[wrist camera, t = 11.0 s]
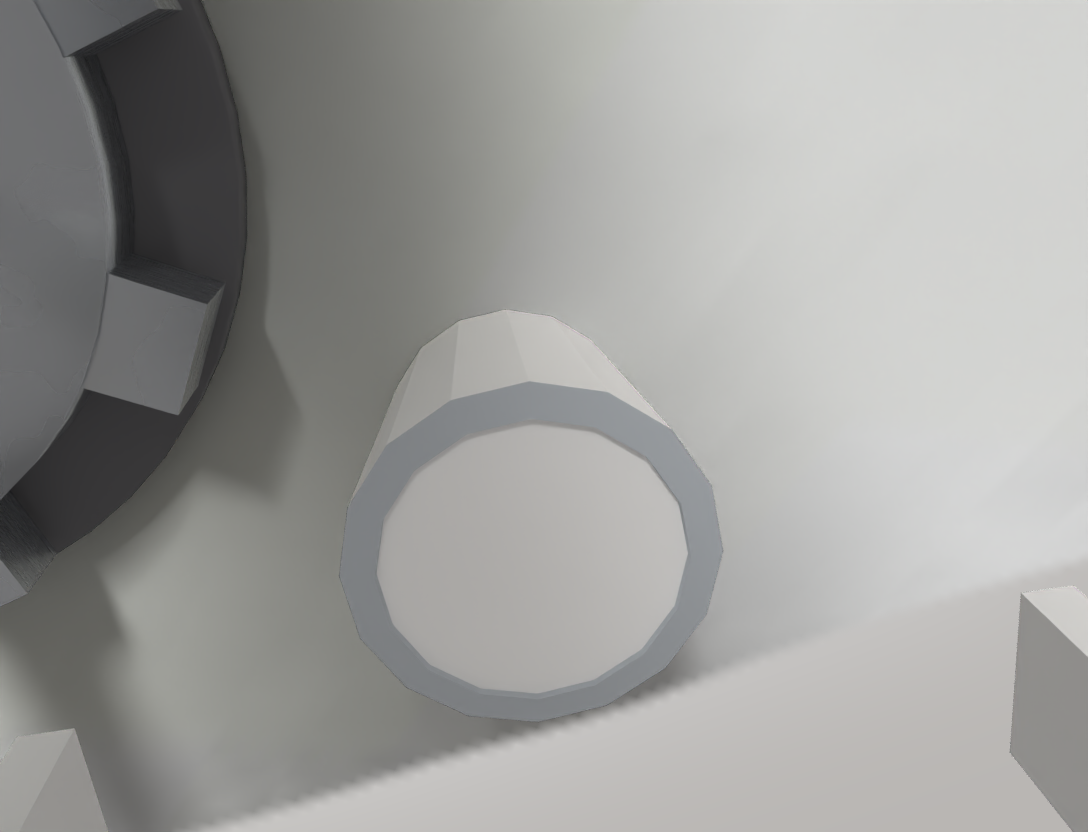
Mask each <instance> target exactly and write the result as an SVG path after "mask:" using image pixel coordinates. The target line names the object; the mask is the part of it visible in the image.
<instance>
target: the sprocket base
mask: <svg viewBox="0 0 1088 832" xmlns="http://www.w3.org/2000/svg"><path fill="white" fill-rule="evenodd" d="M177 1H178V2H179V4H180V6H181V8H182V10H181V11H179V12H178V13H176V14H174V15H172V16H170V17H168V18H166V19H164V20H162V21H160V22H158V23H156V24H154V25H152V26H150V27H148V28H146V29H144V30H143V31H141V32H139V33H137V34H135V35H133V36H131V37H129V38H127V39H125V40H123V41H121V42H119V43H117V44H115V45H113V46H111V47H109V48H108V49H106V50H104V51H102V52H100V53H98V54H97V56H98V58H99V61H100V64H101V66H102V69H103V71H104V74H105V77H106V79H107V82H108V84H109V87H110V90H111V92H112V95H113V97H114V100H115V103H116V107H117V111H118V115H119V119H120V123H121V127H122V131H123V135H124V139H125V143H126V147H127V151H128V155H129V162H130V170H131V179H132V187H133V196H134V204H135V246H134V253H135V254H138V255H141V256H144V257H147V258H150V259H154V260H157V261H160V262H163V263H166V264H169V265H172V266H176V267H179V268H182V269H185V270H188V271H191V272H195V273H198V274H201V275H204V276H207V277H210V278H214V279H217V280H220V281H223V282H226V283H225V287H224V290H223V294H222V298H221V302H220V305H219V309H218V313H217V317H216V321H215V324H214V328H213V332H212V336H211V339H210V343H209V347H208V351H207V354H206V358H205V362H204V366H203V369H202V373H201V377H200V381H199V385H198V387H197V388H196V390H195V391H194V393H193V394H192V396H191V397H190V399H189V400H188V402H187V403H186V405H185V406H184V408H183V409H182V411H181V412H180V414H179V415H175V414H172V413H168V412H165V411H161V410H158V409H154V408H151V407H147V406H144V405H140V404H137V403H133V402H130V401H126V400H123V399H119V398H116V397H112V396H109V395H105V394H102V393H98V392H95V391H93V392H92V394H91V395H90V397H89V398H88V400H87V401H86V403H85V404H84V405H83V407H82V408H81V410H80V411H79V413H78V414H77V415H76V417H75V418H74V420H73V421H72V423H71V424H70V425H69V427H68V428H67V429H66V430H65V432H64V433H63V434H62V435H61V436H60V437H59V438H58V439H57V440H56V441H55V442H54V443H53V445H52V446H51V447H50V448H49V449H48V450H47V451H46V452H45V453H44V454H43V455H42V457H41V458H40V459H39V460H38V461H37V462H36V463H35V464H34V465H33V466H32V467H31V468H30V469H29V471H28V472H27V473H26V474H25V475H24V476H23V477H22V478H21V479H20V480H19V481H18V482H17V483H16V484H15V485H14V486H13V487H12V488H11V489H10V491H11V492H12V493H13V495H14V496H15V497H16V498H17V500H18V501H19V502H20V504H21V505H22V506H23V508H24V509H25V510H26V512H27V513H28V514H29V516H30V517H31V518H32V520H33V521H34V522H35V524H36V525H37V526H38V528H39V529H40V530H41V532H42V533H43V534H44V535H45V537H46V538H47V539H48V541H49V542H50V543H51V545H52V546H53V547H54V549H55V550H56V551H57V553H59V552H60V551H62V550H63V549H65V548H66V547H68V546H69V545H71V544H72V543H74V542H76V541H77V540H79V539H80V538H82V537H83V536H85V535H86V534H88V533H89V532H91V531H92V530H93V529H95V528H96V527H97V526H98V525H99V524H100V523H101V522H103V521H104V520H105V519H106V518H107V517H108V516H109V515H111V514H112V513H113V512H114V511H115V510H116V509H117V508H119V507H120V506H121V505H122V504H123V503H124V502H125V501H127V500H128V499H129V498H130V497H131V496H132V495H133V494H134V493H135V492H136V490H137V489H138V488H139V487H140V486H141V485H142V483H143V482H144V481H145V480H146V479H147V478H148V476H149V475H150V474H151V473H152V472H153V471H154V469H155V468H156V467H157V466H158V465H159V463H160V462H161V461H162V460H163V459H164V458H165V456H166V455H167V453H168V452H169V450H170V449H171V447H172V446H173V444H174V442H175V441H176V439H177V438H178V436H179V434H180V433H181V431H182V430H183V428H184V426H185V425H186V423H187V422H188V420H189V418H190V417H191V415H192V414H193V412H194V410H195V409H196V407H197V406H198V404H199V403H200V401H201V399H202V398H203V396H204V394H205V392H206V390H207V387H208V385H209V383H210V380H211V378H212V376H213V374H214V371H215V369H216V367H217V364H218V362H219V360H220V358H221V355H222V353H223V351H224V349H225V346H226V342H227V339H228V335H229V331H230V328H231V324H232V320H233V317H234V313H235V309H236V306H237V302H238V298H239V295H240V288H241V280H242V272H243V264H244V256H245V249H246V241H247V190H246V170H245V163H244V156H243V149H242V142H241V135H240V128H239V121H238V114H237V110H236V106H235V102H234V99H233V95H232V91H231V88H230V84H229V80H228V77H227V73H226V69H225V66H224V62H223V58H222V55H221V51H220V48H219V45H218V43H217V40H216V38H215V35H214V33H213V30H212V28H211V25H210V23H209V20H208V18H207V16H206V13H205V11H204V8H203V6H202V3H201V1H200V0H177Z"/></svg>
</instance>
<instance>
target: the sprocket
mask: <svg viewBox="0 0 1088 832" xmlns="http://www.w3.org/2000/svg"><path fill="white" fill-rule="evenodd" d="M181 10H182V8H181V6H180V4H179V2H178V1H177V0H0V607H1V606H3V605H5V604H7V603H9V602H11V601H13V600H15V599H18V598H20V597H22V596H24V595H26V594H28V592H29V591H30V590H31V588H32V587H33V585H34V584H35V583H36V581H37V580H38V578H39V577H40V576H41V574H42V573H43V572H44V570H45V569H46V567H47V566H48V565H49V563H50V562H51V560H52V559H53V558H54V556H55V555H56V554H57V551H56V550H55V549H54V547H53V546H52V545H51V543H50V542H49V541H48V539H47V538H46V537H45V535H44V534H43V533H42V532H41V530H40V529H39V528H38V526H37V525H36V524H35V522H34V521H33V520H32V518H31V517H30V516H29V514H28V513H27V512H26V510H25V509H24V508H23V506H22V505H21V504H20V502H19V501H18V500H17V498H16V497H15V496H14V495H13V493H12V492H11V491H10V489H11V488H12V487H13V486H14V485H15V484H16V483H17V482H18V481H19V480H20V479H21V478H22V477H23V476H24V475H25V474H26V473H27V472H28V471H29V469H30V468H31V467H32V466H33V465H34V464H35V463H36V462H37V461H38V460H39V459H40V458H41V457H42V455H43V454H44V453H45V452H46V451H47V450H48V449H49V448H50V447H51V446H52V445H53V443H54V442H55V441H56V440H57V439H58V438H59V437H60V436H61V435H62V434H63V433H64V432H65V430H66V429H67V428H68V427H69V425H70V424H71V423H72V421H73V420H74V418H75V417H76V415H77V414H78V413H79V411H80V410H81V408H82V407H83V405H84V404H85V403H86V401H87V400H88V398H89V397H90V395H91V394H92V392H93V391H95V392H98V393H102V394H105V395H109V396H112V397H116V398H119V399H123V400H126V401H130V402H133V403H137V404H140V405H144V406H147V407H151V408H154V409H158V410H161V411H165V412H168V413H172V414H175V415H179V414H180V412H181V411H182V409H183V408H184V406H185V405H186V403H187V402H188V400H189V399H190V397H191V396H192V394H193V393H194V391H195V390H196V388H197V387H198V385H199V381H200V377H201V373H202V369H203V366H204V362H205V358H206V354H207V351H208V347H209V343H210V339H211V336H212V332H213V328H214V324H215V321H216V317H217V313H218V309H219V305H220V302H221V298H222V294H223V290H224V287H225V283H226V282H223V281H220V280H217V279H214V278H210V277H207V276H204V275H201V274H198V273H195V272H191V271H188V270H185V269H182V268H179V267H176V266H172V265H169V264H166V263H163V262H160V261H157V260H154V259H150V258H147V257H144V256H141V255H138V254H135V253H134V246H135V204H134V196H133V187H132V179H131V170H130V162H129V155H128V151H127V147H126V143H125V139H124V135H123V131H122V127H121V123H120V119H119V115H118V111H117V107H116V103H115V100H114V97H113V95H112V92H111V90H110V87H109V84H108V82H107V79H106V77H105V74H104V71H103V69H102V66H101V64H100V61H99V58H98V56H97V54H98V53H100V52H102V51H104V50H106V49H108V48H109V47H111V46H113V45H115V44H117V43H119V42H121V41H123V40H125V39H127V38H129V37H131V36H133V35H135V34H137V33H139V32H141V31H143V30H144V29H146V28H148V27H150V26H152V25H154V24H156V23H158V22H160V21H162V20H164V19H166V18H168V17H170V16H172V15H174V14H176V13H178V12H179V11H181Z"/></svg>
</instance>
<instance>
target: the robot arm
mask: <svg viewBox="0 0 1088 832" xmlns="http://www.w3.org/2000/svg"><path fill="white" fill-rule="evenodd" d="M1010 744H1011V745H1010V753H1011V754H1012V756H1013V757H1014V758H1015V760H1016V761H1017V762H1018V763H1019V765H1020V766H1021V767H1022V768H1023V770H1024V771H1025V772H1026V773H1027V775H1028V776H1029V777H1030V778H1031V780H1032V781H1033V782H1034V784H1035V785H1036V786H1037V787H1038V789H1039V790H1040V791H1041V792H1042V793H1043V795H1044V796H1045V797H1046V799H1047V800H1048V801H1049V802H1050V804H1051V805H1052V806H1053V807H1054V809H1055V810H1056V811H1057V813H1058V814H1059V815H1060V816H1061V818H1062V819H1063V820H1064V821H1065V823H1066V824H1067V825H1068V826H1069V828H1070V829H1071V830H1072V831H1073V832H1088V597H1087V596H1085V595H1084V594H1083V593H1082V592H1081V591H1080V590H1078V589H1077V588H1076V587H1075V586H1074V585H1072V586H1065V587H1059V588H1052V589H1044V590H1037V591H1030V592H1023V593H1021V599H1020V613H1019V627H1018V643H1017V656H1016V671H1015V685H1014V699H1013V713H1012V728H1011V742H1010ZM0 832H108V829H107V826H106V823H105V820H104V817H103V814H102V811H101V807H100V804H99V801H98V798H97V795H96V792H95V789H94V786H93V783H92V780H91V777H90V774H89V771H88V768H87V765H86V762H85V759H84V756H83V752H82V749H81V746H80V743H79V740H78V737H77V734H76V731H75V728H73V729H66V730H59V731H53V732H46V733H39V734H32V735H25V736H18V737H16V739H15V740H14V742H13V743H12V745H11V747H10V748H9V750H8V752H7V753H6V755H5V756H4V758H3V760H2V761H1V763H0Z"/></svg>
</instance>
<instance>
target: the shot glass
mask: <svg viewBox="0 0 1088 832" xmlns="http://www.w3.org/2000/svg"><path fill="white" fill-rule="evenodd" d="M722 553H723V547H722V541H721V536H720V530H719V524H718V518H717V513H716V507H715V501H714V495H713V490H712V485H711V484H710V483H709V481H708V480H707V478H706V477H705V475H704V474H703V473H702V471H701V470H700V468H699V467H698V466H697V464H696V463H695V461H694V460H693V459H692V457H691V456H690V454H689V453H688V452H687V450H686V449H685V447H684V446H683V445H682V443H681V442H680V440H679V439H678V437H677V436H676V435H675V433H674V432H673V430H672V429H671V428H670V427H669V426H668V425H667V424H666V422H665V421H664V420H663V419H662V418H661V417H660V416H659V415H658V414H657V412H656V411H655V410H654V409H653V408H652V407H651V406H650V405H649V404H648V402H647V401H646V400H645V399H644V398H643V397H642V396H641V395H640V394H639V392H638V391H637V390H636V389H635V388H634V387H633V386H632V385H631V384H630V382H629V381H628V380H627V379H626V378H625V377H624V376H623V375H622V374H621V372H620V371H619V370H618V369H617V368H616V367H615V366H614V365H613V364H612V362H611V361H610V360H609V359H608V358H607V357H606V356H605V355H604V354H603V352H602V351H601V350H600V349H599V348H598V347H597V346H596V345H595V344H594V342H593V341H592V340H591V339H589V338H587V337H586V336H584V335H582V334H581V333H579V332H577V331H576V330H574V329H572V328H571V327H569V326H567V325H566V324H564V323H562V322H561V321H559V320H557V319H556V318H554V317H552V316H546V315H539V314H533V313H526V312H519V311H512V310H501V311H497V312H493V313H489V314H484V315H480V316H476V317H472V318H468V319H464V320H459V321H458V322H456V323H455V324H454V325H452V326H451V327H449V328H448V329H447V330H445V331H444V332H442V333H441V334H440V335H438V336H437V337H435V338H434V339H433V340H431V341H430V342H428V343H427V344H426V345H424V346H423V347H421V349H420V350H419V352H418V353H417V355H416V357H415V358H414V360H413V362H412V363H411V365H410V366H409V368H408V370H407V371H406V373H405V375H404V376H403V378H402V379H401V381H400V383H399V384H398V386H397V388H396V391H395V393H394V396H393V398H392V400H391V403H390V405H389V408H388V410H387V413H386V415H385V417H384V420H383V422H382V425H381V427H380V430H379V432H378V435H377V437H376V439H375V442H374V444H373V447H372V449H371V452H370V454H369V456H368V459H367V461H366V464H365V466H364V469H363V471H362V474H361V476H360V478H359V481H358V483H357V486H356V488H355V491H354V493H353V495H352V498H351V500H350V503H349V505H348V508H347V516H346V524H345V532H344V540H343V548H342V557H341V565H340V573H339V577H340V580H341V583H342V586H343V589H344V592H345V595H346V598H347V601H348V604H349V606H350V609H351V612H352V615H353V618H354V621H355V624H356V627H357V630H358V633H359V636H360V639H361V640H362V641H363V642H364V643H365V644H366V645H367V646H368V647H369V648H370V649H371V651H372V652H373V653H374V654H375V655H376V656H377V657H378V658H379V659H380V660H381V661H382V662H383V663H384V664H385V665H386V666H387V667H388V669H389V670H390V671H391V672H392V673H393V674H394V675H395V676H396V677H397V678H398V679H399V680H400V681H401V682H402V683H403V684H404V685H405V687H406V688H409V689H411V690H413V691H415V692H417V693H419V694H422V695H424V696H426V697H428V698H430V699H433V700H435V701H437V702H439V703H441V704H443V705H446V706H448V707H450V708H452V709H454V710H457V711H459V712H461V713H463V714H465V715H467V716H474V717H485V718H497V719H509V720H520V721H532V722H541V721H545V720H549V719H553V718H557V717H561V716H565V715H569V714H573V713H577V712H582V711H586V710H590V709H594V708H598V707H602V706H606V705H608V704H610V703H611V702H613V701H614V700H616V699H618V698H619V697H621V696H622V695H624V694H625V693H627V692H629V691H630V690H632V689H633V688H635V687H636V686H638V685H640V684H641V683H643V682H644V681H646V680H647V679H649V678H651V677H652V676H654V675H655V674H657V673H658V672H660V671H662V670H663V669H665V668H666V667H667V665H668V664H669V663H670V661H671V660H672V659H673V657H674V656H675V655H676V653H677V652H678V651H679V650H680V648H681V647H682V646H683V644H684V643H685V642H686V640H687V639H688V638H689V636H690V635H691V634H692V633H693V631H694V630H695V629H696V627H697V626H698V625H699V623H700V622H701V621H702V619H703V618H704V617H705V616H706V614H707V610H708V606H709V602H710V599H711V595H712V591H713V587H714V584H715V580H716V576H717V572H718V568H719V565H720V561H721V557H722Z"/></svg>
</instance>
